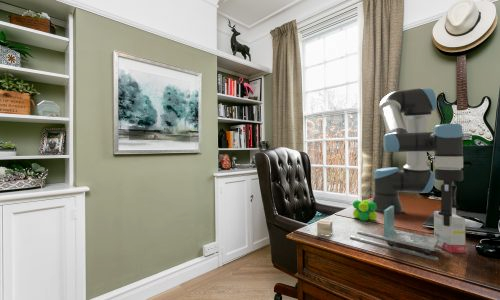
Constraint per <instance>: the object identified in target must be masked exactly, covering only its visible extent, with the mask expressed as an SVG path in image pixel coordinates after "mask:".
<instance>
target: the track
mask: <svg viewBox="0 0 500 300" xmlns="http://www.w3.org/2000/svg"><path fill="white" fill-rule="evenodd" d="M356 231H357V232H356V233H357V234H359V235H363V236H364V235H365V236H369V237H373V238H376V239H381V240H385V239H384V235H380V234H375V233H370V232H366V231H362V230H356ZM350 238H351V239H352V240H354V239H355V240H354V241H358V240H359V241H360V242H362V241H363V243H366V244H370V245H374V246H379V247H381V246H382V248H386V249H390V250H393V251H397V252H401V253H406V254H409V255H414V256H418V257H421V258H425V259H429V260H432V261H436V262H438V261H439V257H438V256H435V255H431V254H430V255H425V254H423V252H419V251H414V250H410V249H406V248H402V247H397V246H395V245H394V246H389V245H388V244H385V243H382V242H378V241H375V240H370V239H366V238H363V237H362V238H361V237H358V236H353V235H350V236H349V239H350ZM396 243H397V244H399V243H398V242H396ZM400 244H402V243H400ZM402 245H403V244H402ZM405 245H406V246H408V245H407V244H405ZM409 246H411V245H409ZM411 247H412V246H411ZM413 247H415V246H413ZM417 248H419V247H417ZM419 249H420V248H419ZM422 249H423V248H421V250H422ZM431 252H435V253H442V249H440V248H437V247H436V248H435V250H434V251H432V250H431Z"/></svg>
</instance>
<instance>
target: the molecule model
mask: <svg viewBox="0 0 500 300" xmlns="http://www.w3.org/2000/svg"><path fill="white" fill-rule="evenodd" d="M352 206H353V208H354V210H353V212H352V214H353V217H355V219H359V220H360V221H362V222H366V221H367V220H370V221H375V220H377V217H378V215H377V213H376V211H375V210H376V208H377V206H376V204H375V203H374V202H372V201H369V200H367V199H364V200H354V201H353V202H352Z"/></svg>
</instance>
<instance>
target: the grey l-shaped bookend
mask: <svg viewBox="0 0 500 300" xmlns="http://www.w3.org/2000/svg"><path fill="white" fill-rule="evenodd" d="M383 236H384V239H385V240H386V243H387V245H389V246H395V245H396V243H397V242H398V243H397V244H401V243H402V245H406V244H407V245H406V246H410V245H411V247H414V246H415V247H416V248H418V247H419V249H421V251H422V252H421V253H423V254H425V255H431V253H432V252H435V251H434V250H435V248H437V246H438V245H437V243H438V238H434V236H428V235H424V234H417V233H413V232H408V231H403V230H398V229H395V213H394V206H390V207H388V208H387V209H385V210H384V212H383ZM384 239H383V240H384ZM422 248H423V249H422ZM431 250H432V251H431Z"/></svg>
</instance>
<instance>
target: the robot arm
mask: <svg viewBox="0 0 500 300" xmlns="http://www.w3.org/2000/svg"><path fill="white" fill-rule="evenodd" d="M437 105H438V104H437V95H436V92H435V91H434V89H432V88H431V87H426V88H425V87H424V88H423V87H420V88H412V89H411V88H410V89H403V90H402V89H401V90H395V91H392V92H390V93H388V94H387V95H385V96H384V97H383V98H382V99H381V101H380V103H379V104H378V112H379V115H380V116H382V118H383V124H384V127H385V131H386V133H385V134H384V135H383V139H382V141H383V142H382V144H383V145H382V146H383V150H384V151H386V152H391V153H392V152H393V153H401V152H402V153H405V152H406V163H405V164H404V165H403V166H402V169H399V167H396V166H395V167H382V168H377V169H376V170H374V176H373V179H374V195H373V198H372V201H371V202H374V203H375V204H376V206H377V208H376V210H375V211H374V212H379V213H384V210H385V209H387V208H388V207H390V206H394V214H400V213H403V211H404V210H403V205H402V202H401V200H400V196H399V192H400V193H401V192H402V193H404V192H405V193H418V194H422V193H430V192H431V190H433V187H434V184H435V180H437V181H443V184H441V185H440V191H441V192H440V195H441V200H440V201H441V202H440V210H439V211H440V212H439V215H441V222H442V235H446V236H452V237H453V221H452V213H453V214H455V215H457V209H459V204H457V189H458V188H457V185H456V182H462V181H463V180H464V170H462V169H463V168H464V153H463V151H464V145H463V144H464V143H463V142H464V139H463V136H464V132H463V126H462V124H460V123H444V124H443V123H442V124H437V125H435V126H434V129H433V131H429V132H428V119H429V118H430V117H431V116H432V112H434V111H436V109H437ZM402 114H403V115H402ZM403 117H404V118H405V119H406V121H407V122H406V123H405V121H404V118H403ZM427 152H434V158H432V162H434V167H435V169H434V171H432V170H431V167H429V166H428V165H427Z"/></svg>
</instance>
